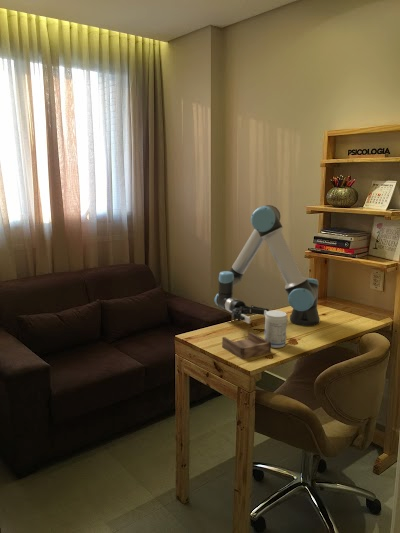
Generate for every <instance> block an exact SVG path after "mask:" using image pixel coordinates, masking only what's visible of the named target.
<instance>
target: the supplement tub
mask: <svg viewBox="0 0 400 533" xmlns="http://www.w3.org/2000/svg"><path fill="white" fill-rule="evenodd" d="M264 317H265V316H264ZM287 323H288V314H287V313H286V312H285V311H282V310H276V309H275V310H274V309H273V310H269V311H268V312H266V317H265V320H264V337H263V339H265V340H267V341H269V342H271V349H272V348H273V349H280V348H283V347H285V346H286V343H287V342H286V341H287V340H286V339H287V327H288V326H287V325H288V324H287Z"/></svg>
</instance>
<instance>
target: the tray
mask: <svg viewBox="0 0 400 533" xmlns="http://www.w3.org/2000/svg"><path fill="white" fill-rule="evenodd" d="M221 338H222V341H221V342H222V344H221V347H222V348H223V349H224V350H226V351H228V352H229V353H231V354H233V355H234V356H236V357H237V358H239V359H241V360H244V359H248V358H252V357H253V358H254V357H257V356H261V355H266V354H269V353H270V354H271V352H272V351H271V350H272V347H271V342H269V341H267V340H265V339H264V337H261V336H259V335H257V334H255V333H253V332H250V331H249V332H248V333H247V338H245V339H240V340H236V341H235V340H234V341H233V340H231V339H229V338H227V337H224V336H223V337H221Z"/></svg>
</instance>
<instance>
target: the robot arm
mask: <svg viewBox="0 0 400 533" xmlns="http://www.w3.org/2000/svg"><path fill="white" fill-rule="evenodd" d="M250 222H251V223H250V224H251V226H252V228H254V229H253V231H252V232H251V234H250V236H249V237H248V239H247V241H246V242H245V244H244V245H243V247H242V249H241V251H240V252H239V254H238V256H237V258H236V259H235V261H234V262H233V264H232V266H231V268H230V269H229V270H228V271H227V270H223V271H220V272H219V274H218V291H217V293H216V295H215V297H214V299H213V300H214V303H215V305H216V306H217V307H219V308H220V309H223V310H225V311H228V312H229V314H230V315H232V318H233V320H237V321H238V322H240V321H242V322H244V323H246V324H248V325H250V324H251V317H249V316H247V315H260V316H261V315H262V316H263V317H266V312H268V311H270V309H269V308H265V307H262V306H261V307H260V306H255V305H253V304H252V305H250V306H248V305H246V303H245V302H244V301H243V300H241V299H237V298H236V297H234V296H233V295H234V287H235V286H236V285H238V284H239V283H240V282H241V281H242V280H243V276H244V274H245V272H246V271H247V270H248V269H249V266H250V265H251V264H252V262H253V260H254V258H255V257H256V254H257V253H258V252H259V251H260V248H261V247H262V245H263V243H264V242H265V243H266V244H267V246H268V248H269V251H270V253H271V255H272V257H273V259H274V262H275V263H276V266H277V268H278V270H279V272H280V274H281V276H282V278H283V281H284V282H285V286H284V289H285V292H286V294H287V300H288V304H289V306H290V308H292V310H291V314H290V316H289V321H290V323H292V324H294V325H298V326H305V327H312V326H317V325H319V324H320V323H321V322H320V320H321V318H320V316H319V311H318V294H319V285H320V284H319V280H318V279H316V278H311V277H304V276H303V275H302V273H301V271H300V269H299V267H298V264H297V262H296V260H295V258H294V256H293V254H292V252H291V249H290V248H289V245H288V243H287V241H286V238H285V237H284V235H283V232H282V230H283V228H284V227H283V225H282V223H281V212H280V210H279V209H278V208H277V207H276V206H274V205H271V204H267V205H262V206H259V207H258V208H256V209H255V210H254V211H253V212H252V214H251V216H250Z"/></svg>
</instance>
